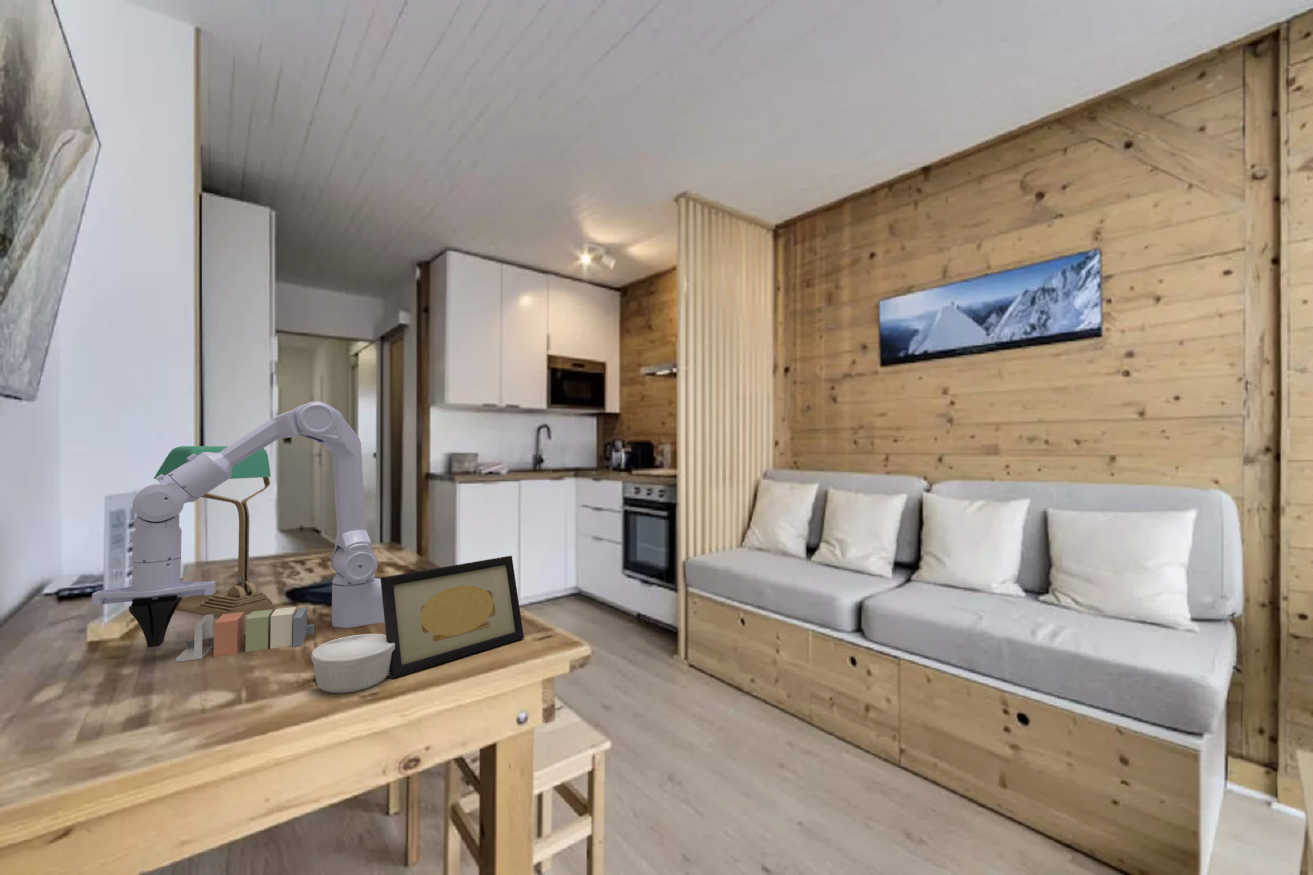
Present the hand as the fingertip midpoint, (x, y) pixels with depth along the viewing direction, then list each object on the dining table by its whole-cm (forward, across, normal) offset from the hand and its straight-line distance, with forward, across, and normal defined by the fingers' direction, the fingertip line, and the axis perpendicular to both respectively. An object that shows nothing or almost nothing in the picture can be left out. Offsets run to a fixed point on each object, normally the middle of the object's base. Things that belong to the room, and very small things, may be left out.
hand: (155, 644), depth 85 cm
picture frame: (+4, -43, +13) cm, 45 cm away
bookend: (+2, -5, 0) cm, 6 cm away
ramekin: (+4, -29, +19) cm, 35 cm away
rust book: (+2, -9, 0) cm, 10 cm away
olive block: (+2, -14, 0) cm, 14 cm away
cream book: (+2, -17, 0) cm, 17 cm away
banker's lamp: (+4, 0, -34) cm, 34 cm away
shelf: (+3, -12, 0) cm, 12 cm away
